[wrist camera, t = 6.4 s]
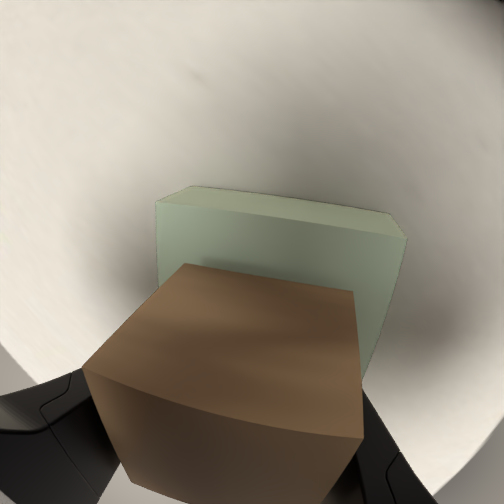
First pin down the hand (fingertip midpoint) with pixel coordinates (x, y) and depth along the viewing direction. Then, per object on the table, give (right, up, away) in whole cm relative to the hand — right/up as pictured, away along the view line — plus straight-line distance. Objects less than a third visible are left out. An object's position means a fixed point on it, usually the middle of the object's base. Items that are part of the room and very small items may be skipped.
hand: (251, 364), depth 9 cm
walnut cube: (0, 0, +1) cm, 1 cm away
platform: (+1, +2, +5) cm, 5 cm away
